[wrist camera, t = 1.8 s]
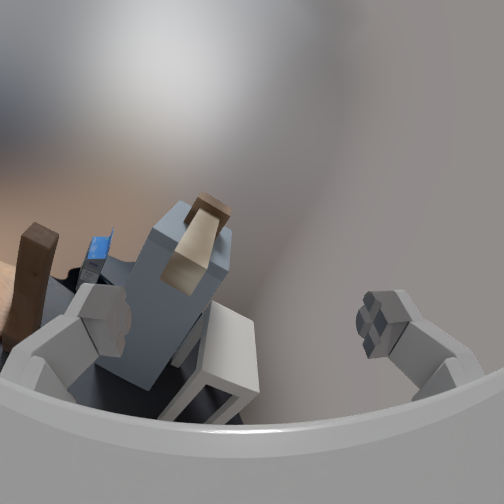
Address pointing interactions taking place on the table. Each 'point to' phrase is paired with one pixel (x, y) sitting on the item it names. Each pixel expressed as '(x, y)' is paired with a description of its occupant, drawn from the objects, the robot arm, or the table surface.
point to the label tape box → (94, 260)
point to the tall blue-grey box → (163, 301)
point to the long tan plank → (196, 244)
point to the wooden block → (29, 284)
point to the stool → (219, 363)
